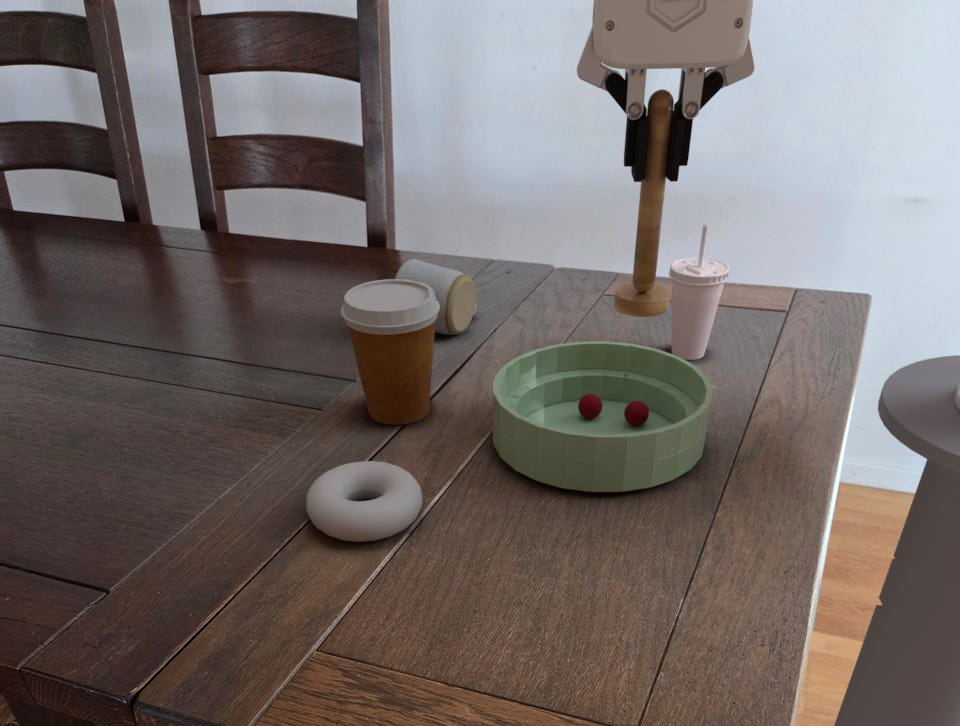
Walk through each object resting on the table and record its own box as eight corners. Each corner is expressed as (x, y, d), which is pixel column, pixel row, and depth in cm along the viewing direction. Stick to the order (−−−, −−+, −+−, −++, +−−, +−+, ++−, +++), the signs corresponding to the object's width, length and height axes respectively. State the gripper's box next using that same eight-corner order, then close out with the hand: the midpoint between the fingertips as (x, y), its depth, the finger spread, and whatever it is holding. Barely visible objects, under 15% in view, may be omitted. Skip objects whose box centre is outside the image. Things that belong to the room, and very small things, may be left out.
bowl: (685, 395, 94) (693, 340, 90) (720, 497, 78) (731, 436, 75) (494, 397, 94) (494, 342, 90) (492, 498, 79) (491, 437, 75)
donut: (418, 551, 73) (428, 486, 81) (415, 516, 71) (426, 452, 78) (298, 550, 74) (319, 485, 81) (292, 516, 71) (314, 452, 79)
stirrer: (665, 296, 74) (689, 83, 64) (671, 317, 70) (698, 94, 60) (612, 297, 74) (627, 84, 64) (615, 317, 70) (633, 96, 61)
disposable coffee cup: (418, 440, 87) (409, 319, 80) (335, 422, 91) (319, 304, 83) (460, 400, 94) (456, 284, 86) (381, 385, 97) (371, 272, 89)
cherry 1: (607, 396, 89) (602, 396, 87) (601, 421, 89) (596, 421, 87) (584, 392, 89) (578, 391, 87) (578, 416, 90) (573, 416, 88)
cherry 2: (657, 415, 87) (645, 393, 86) (645, 425, 86) (633, 403, 85) (639, 423, 89) (627, 401, 88) (627, 433, 88) (615, 411, 87)
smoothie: (658, 363, 100) (674, 231, 91) (660, 340, 105) (675, 213, 96) (717, 366, 99) (738, 233, 90) (715, 343, 104) (736, 215, 95)
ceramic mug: (451, 346, 104) (449, 279, 100) (392, 334, 107) (387, 268, 103) (492, 316, 112) (492, 253, 107) (436, 306, 115) (433, 244, 110)
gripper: (556, -154, 51) (547, 192, 63) (834, -162, 50) (772, 189, 63) (554, -152, 57) (546, 166, 69) (804, -159, 56) (752, 163, 68)
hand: (654, 175), depth 66 cm, fingers closed on stirrer
